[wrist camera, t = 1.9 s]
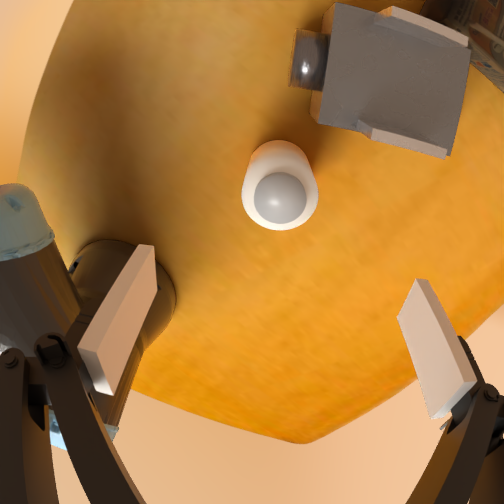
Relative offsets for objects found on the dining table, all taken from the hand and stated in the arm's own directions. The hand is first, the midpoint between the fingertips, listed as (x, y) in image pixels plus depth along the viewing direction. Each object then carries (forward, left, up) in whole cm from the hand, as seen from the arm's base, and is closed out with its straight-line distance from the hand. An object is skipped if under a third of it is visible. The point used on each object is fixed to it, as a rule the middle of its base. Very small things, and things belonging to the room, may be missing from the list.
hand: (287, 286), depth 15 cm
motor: (+7, +11, -18) cm, 22 cm away
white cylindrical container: (0, 0, -18) cm, 18 cm away
